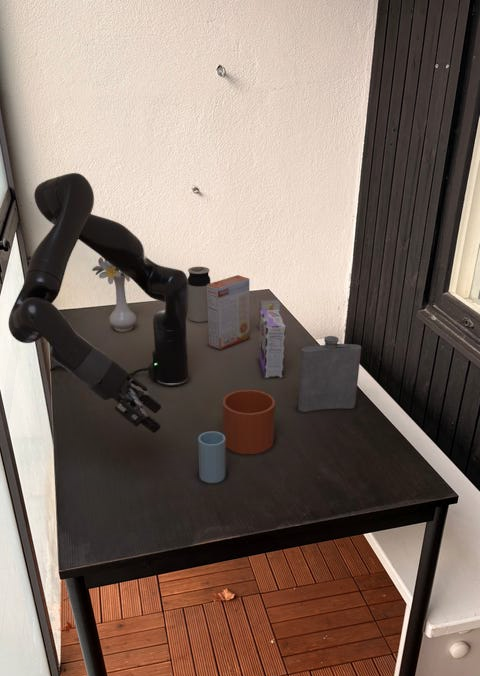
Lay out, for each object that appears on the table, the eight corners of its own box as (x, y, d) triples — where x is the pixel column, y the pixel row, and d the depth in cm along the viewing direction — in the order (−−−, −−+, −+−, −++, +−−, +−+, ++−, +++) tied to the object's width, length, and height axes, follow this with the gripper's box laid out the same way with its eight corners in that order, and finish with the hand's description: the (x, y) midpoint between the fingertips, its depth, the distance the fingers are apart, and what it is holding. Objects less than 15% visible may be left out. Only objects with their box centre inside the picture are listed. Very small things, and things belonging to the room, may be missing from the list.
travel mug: (185, 320, 232) (183, 271, 223) (194, 313, 238) (193, 265, 229) (205, 323, 229) (204, 274, 220) (214, 316, 235) (213, 267, 226)
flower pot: (216, 450, 157) (216, 410, 151) (230, 424, 167) (230, 387, 162) (267, 457, 154) (268, 417, 149) (278, 431, 165) (279, 393, 159)
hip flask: (299, 412, 174) (303, 343, 163) (295, 405, 177) (299, 337, 167) (356, 408, 176) (364, 339, 166) (351, 401, 179) (359, 333, 169)
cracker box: (237, 334, 221) (237, 274, 210) (250, 339, 217) (250, 278, 207) (207, 345, 212) (205, 283, 202) (219, 350, 209) (218, 287, 198)
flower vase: (154, 332, 222) (149, 260, 209) (99, 337, 218) (91, 263, 205) (149, 319, 232) (145, 249, 220) (97, 323, 228) (89, 252, 216)
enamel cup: (195, 480, 146) (194, 443, 141) (203, 466, 151) (203, 429, 146) (221, 485, 144) (220, 447, 139) (228, 470, 149) (228, 433, 144)
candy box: (258, 359, 203) (260, 309, 195) (277, 358, 204) (279, 308, 195) (263, 378, 191) (265, 326, 183) (283, 377, 192) (286, 325, 184)
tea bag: (258, 326, 227) (259, 299, 222) (277, 325, 228) (278, 298, 223) (260, 330, 224) (260, 302, 219) (279, 329, 225) (280, 302, 220)
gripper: (91, 370, 140) (147, 414, 146) (82, 400, 127) (145, 448, 134) (113, 346, 137) (170, 393, 144) (107, 375, 125) (169, 424, 132)
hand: (158, 419), depth 139 cm, fingers open, 8 cm apart
